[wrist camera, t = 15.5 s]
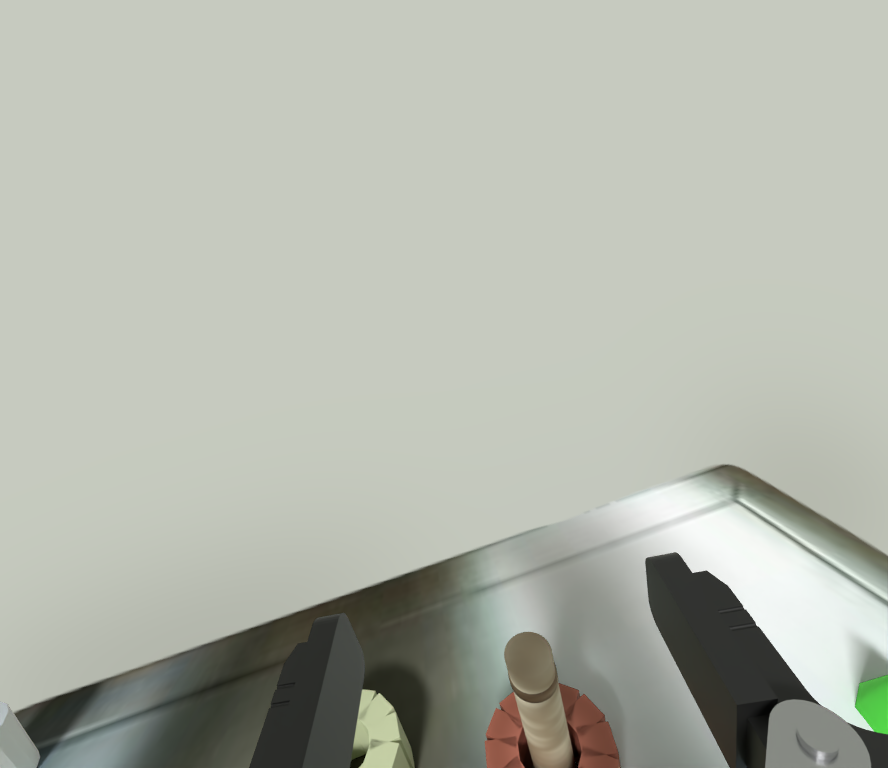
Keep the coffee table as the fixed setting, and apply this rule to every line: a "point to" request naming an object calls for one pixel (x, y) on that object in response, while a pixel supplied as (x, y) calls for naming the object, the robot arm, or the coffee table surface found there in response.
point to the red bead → (585, 728)
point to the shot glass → (15, 742)
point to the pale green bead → (380, 735)
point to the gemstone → (874, 703)
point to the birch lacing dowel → (539, 700)
